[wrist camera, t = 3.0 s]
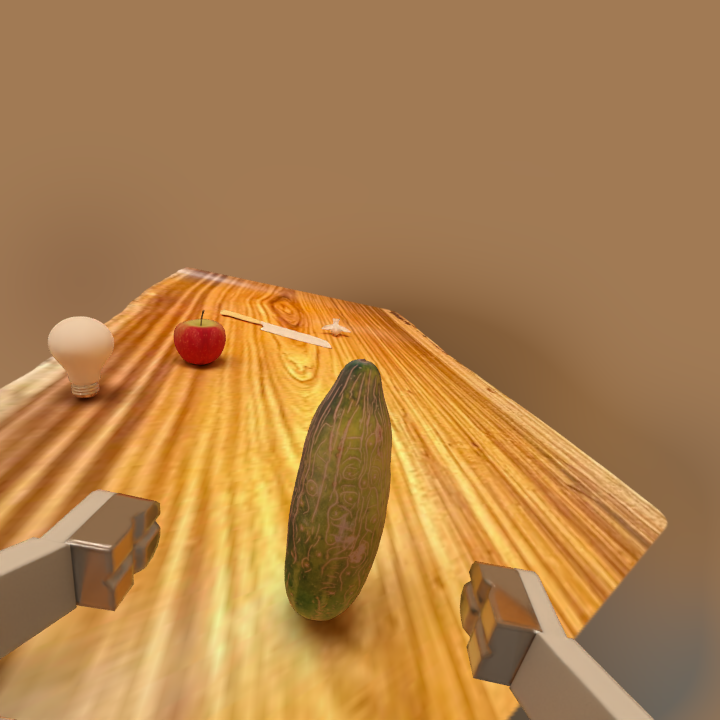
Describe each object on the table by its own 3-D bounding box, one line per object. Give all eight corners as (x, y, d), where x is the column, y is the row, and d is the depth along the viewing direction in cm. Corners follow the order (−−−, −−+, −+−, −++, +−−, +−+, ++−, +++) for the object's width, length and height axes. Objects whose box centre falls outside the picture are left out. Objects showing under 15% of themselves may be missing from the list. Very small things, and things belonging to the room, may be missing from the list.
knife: (328, 348, 84) (337, 341, 88) (212, 311, 94) (226, 307, 98) (328, 353, 85) (337, 346, 89) (213, 316, 95) (226, 311, 99)
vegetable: (373, 609, 28) (437, 371, 22) (325, 684, 23) (389, 402, 17) (312, 564, 31) (352, 341, 25) (257, 623, 26) (288, 360, 19)
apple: (177, 372, 60) (178, 313, 57) (170, 354, 67) (170, 300, 64) (229, 369, 65) (232, 314, 62) (217, 352, 71) (220, 302, 68)
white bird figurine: (321, 333, 94) (323, 315, 94) (319, 334, 98) (320, 317, 98) (351, 337, 95) (353, 319, 95) (348, 338, 100) (350, 320, 100)
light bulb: (115, 385, 53) (112, 311, 50) (117, 406, 48) (113, 325, 45) (56, 389, 50) (48, 309, 46) (51, 412, 44) (41, 325, 41)
